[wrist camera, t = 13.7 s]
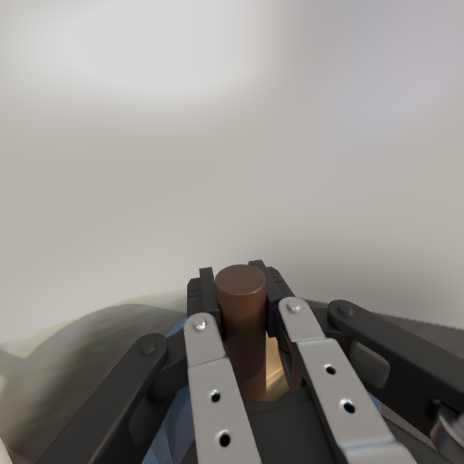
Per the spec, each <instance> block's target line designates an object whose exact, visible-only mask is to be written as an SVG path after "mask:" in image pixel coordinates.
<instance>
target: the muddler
mask: <svg viewBox="0 0 464 464" xmlns="http://www.w3.org/2000/svg"><path fill="white" fill-rule="evenodd" d="M215 289H216V297H217V301H218V303H219V309H220V317H221V326H222V336H223V345H224V351H225V354H226V356H228V357H229V360H230V363H231V366H232V369H233V372H234V376H235V379H236V382H237V385H238V389H239V392H240V395H241V398H242V401H245V400H247V401H266V277H265V274H264V273H263V272H262V271H261V270H260V269H258V268H257V267H254V266H251V265H242V264H241V265H232V266H229V267H226V268H224V269H222V270H221V271H220V272H219V273H218V274H217V275H216V277H215Z"/></svg>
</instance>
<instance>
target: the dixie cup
mask: <svg viewBox="0 0 464 464" xmlns="http://www.w3.org/2000/svg"><path fill="white" fill-rule="evenodd" d="M0 464H13V463H12V461H11V459H10V457H9V455H8V453H7V450H6V448H5V446H4V444H3V442H2V440H1V438H0Z"/></svg>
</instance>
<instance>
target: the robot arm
mask: <svg viewBox="0 0 464 464" xmlns="http://www.w3.org/2000/svg"><path fill="white" fill-rule="evenodd" d="M248 265H251V266H254V267H257V268H258V269H260V270H261V271H262V272H263V273H264V274H265V277H266V332H267V334H268V337H269V338H273V337H276V340H277V349H278V353H279V357H280V360H281V363H282V367H283V370H284V374H285V377H286V380H287V384H288V387H289V392H290V394H288V395H286V396H285V397H283V398H281V399H280V400H278V401H275V402H267V401H247V400H245V401H242V398H241V395H240V392H239V389H238V385H237V382H236V379H235V376H234V372H233V369H232V366H231V363H230V360H229V357H228V356H226V354H225V351H224V345H223V336H222V326H221V317H220V309H219V303H218V301H217V297H216V289H215V282H214V276H213V271H212V267H208V268H201V269H199V271H200V278H194V279H191V280H190V282H189V283H188V285H187V320H186V321H185V323H184V327H183V328H182V329H181V330H180V331H178V332H177V333H175V334H173V335H171V336H169V337H167V338H165V337H164V336H163V335H161V334H158V333H152V334H147V335H145V336H143V337H141V338H140V339H138V340H137V341H136V342H135V343H134V344H133V345H132V347H131V348H130V349H129V350H128V352H127V353H126V354H125V355H124V356H123V358H122V359H121V360H120V361H119V363H118V364H117V365H116V366H115V367H114V369H113V370H112V371H111V372H110V374H109V375H108V376H107V377H106V378H105V380H104V381H103V382H102V383H101V385H100V386H99V387H98V388H97V389H96V391H95V392H94V393H93V394H92V396H91V397H90V398H89V399H88V400H87V402H86V403H85V404H84V405H83V407H82V408H81V409H80V410H79V411H78V413H77V414H76V415H75V416H74V417H73V419H72V420H71V421H70V422H69V424H68V425H67V426H66V427H65V428H64V430H63V431H62V432H61V433H60V435H59V436H58V437H57V438H56V439H55V441H54V442H53V443H52V444H51V446H50V447H49V448H48V449H47V450H46V452H45V453H44V454H43V455H42V457H41V458H40V459H39V460H38V461H37V463H36V464H142V462H143V460H144V458H145V456H146V454H147V452H148V450H149V448H150V446H151V444H152V442H153V440H154V438H155V436H156V434H157V432H158V430H159V428H160V426H161V424H162V422H163V420H164V418H165V416H166V414H167V412H168V410H169V408H170V406H171V404H172V402H173V400H174V398H175V396H176V394H177V391H179V390H180V389H182V388H184V387H185V386H187V385H189V387H190V395H191V404H192V413H193V422H194V430H195V439H194V440H193V442H192V444H191V445H190V447H189V449H188V450H187V452H186V454H185V456H184V458H183V460H182V462H181V464H464V359H462V358H460V357H458V356H456V355H454V354H452V353H450V352H448V351H446V350H444V349H442V348H440V347H438V346H436V345H434V344H432V343H430V342H428V341H426V340H424V339H422V338H420V337H418V336H417V335H415V334H413V333H411V332H409V331H407V330H405V329H403V328H401V327H399V326H397V325H395V324H393V323H391V322H389V321H387V320H385V319H383V318H381V317H379V316H377V315H375V314H373V313H371V312H369V311H367V310H365V309H363V308H361V307H359V306H357V305H355V304H353V303H351V302H349V301H345V300H334V301H332V302H330V303H329V305H328V309H326V308H313V307H309V305H308V304H307V303H306V302H305V301H304V300H302V299H300V298H297V297H295V295H294V294H293V292H292V291H291V290H290V288H289V287H288V285H287V284H286V282H285V281H284V279H283V278H282V276H281V275H280V273H279V272H278V270H276V269H274V268H273V267H266V266H265V265H264V263H263V261H262V260H255V261H249V264H248ZM357 341H358V342H360V343H361V344H363V345H364V346H366V347H368V348H369V349H371V350H373V351H374V352H376V353H377V354H379V355H381V356H382V357H384V358H385V359H386V360H387V361H388V363H389V365H390V366H388V365H386V364H385V363H383V362H382V361H380V360H379V359H377V358H375V357H374V356H372V355H371V354H369V353H368V352H366V351H364V350H363V349H361V348H360V347H358V346H357V345H356V344H357ZM367 391H368V392H369V393H370V394H372V395H373V396H374V397H375V398H377V399H378V400H379V401H381V402H382V403H383V404H385V405H386V406H387V407H389V408H390V409H391V410H393V411H394V412H395V413H397V414H398V415H399V416H401V417H402V418H403V419H405V420H406V421H407V422H408V423H410V424H411V425H412V426H414V427H415V428H416V429H418V430H419V431H420V432H422V433H423V434H424V435H426V436H427V437H428V438H430V439H431V440H432V442H433V444H434V446H435V447H436V449H437V450H438V452H437V451H436V450H434V449H433V448H431V447H430V446H428V445H427V444H425V443H424V442H422V441H421V440H419V439H418V438H416V437H415V436H413V435H412V434H410V433H409V432H407V431H406V430H404V429H403V428H401V427H400V426H398V425H396V424H395V423H393V422H392V421H390V420H389V419H387V418H386V417H384V416H383V415H381V414H380V413H379V411H378V410H377V408H376V406H375V404H374V403H373V401H372V399H371V398H370V396H369V394H368V393H367Z"/></svg>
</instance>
